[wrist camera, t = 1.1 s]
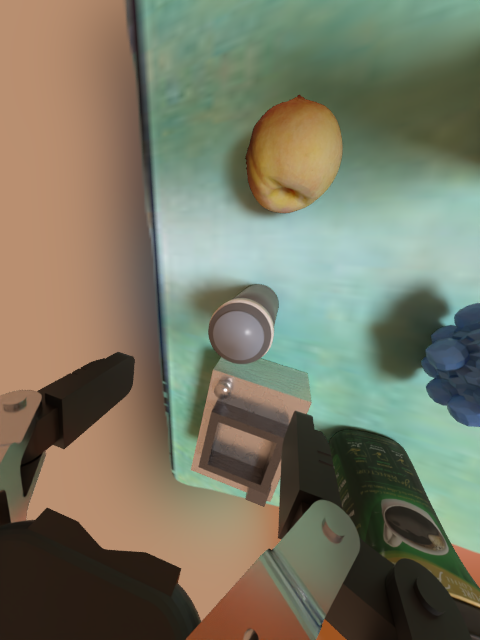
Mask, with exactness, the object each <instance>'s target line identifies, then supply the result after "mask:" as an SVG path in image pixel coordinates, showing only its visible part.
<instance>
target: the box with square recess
mask: <svg viewBox="0 0 480 640" xmlns="http://www.w3.org/2000/svg"><path fill="white" fill-rule="evenodd" d="M311 403H312V402H311V394H310V386H309V379H308V373H305V372H302V371H299V370H296V369H293V368H289V367H286V366H283V365H280V364H277V363H274V362H271V361H267V360H264V359H261V358H260V359H258V360H257V361H255V362H252V363H248V364H236V363H232V362H229V361H227V360H225V359H224V358H222V357H221V358H220V360H219V361H218V363H217V364H216V366H215V367H214V369H213V372H212V377H211V381H210V386H209V390H208V395H207V399H206V404H205V408H204V413H203V418H202V422H201V427H200V431H199V436H198V440H197V445H196V449H195V454H194V458H193V463H192V467H191V470H193V471H195V472H198V473H200V474H202V475H205V476H207V477H210V478H212V479H215V480H217V481H220V482H222V483H225V484H227V485H230V486H232V487H235V488H237V489H240V490H242V491H245V492H247V493H246V500H248V501H251V502H253V503H256V504H258V505H261V506H263V507H264V506H265V503H266V501H269V502H270V501H271V499H272V496H273V494H274V491H275V489H276V487H277V484H278V482H279V479H280V477H281V456H282V445H283V441H284V437H285V434H286V431H287V429H288V426H289V423H290V421H291V418H292V415H293V413H294V411H298V412H301V413H305V414H307V412H308V410H309V407H310V405H311Z"/></svg>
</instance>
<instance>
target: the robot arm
mask: <svg viewBox="0 0 480 640" xmlns="http://www.w3.org/2000/svg"><path fill="white" fill-rule="evenodd" d="M134 363H135V359H134V358H133V357H132V356H129V355H126V354H123V353H120V352H117V353H115V354H113V355H111V356H109V357H107V358H106V359H105V358H103V359H100V360H96V361H93V362H91V363H89V364H87V365H85V366H83V367H81V369H77V370H75V371H74V372H72V374H71V373H70V374H68V375H66V376H65V377H63V378H61V379H59V380H57V381H55V382H53V383H51V384H50V385H48V386H46V387H44V388H42V389H40V390H38V391H33V390H19V391H13V392H9V393H6V394H4V395H1V396H0V640H316V638H317V636H318V634H319V632H320V630H321V627H322V623H323V620H324V619H326V620H327V621H328V622H329V623H330V624H331V625H332V626H333V627H334V628H335V629H336V630H337V631H338V632H339V633H340V634H341V635H342V636H344V637H345V638H346V639H347V640H472V638H471V636H470V634H469V631H468V629H467V627H466V624H465V622H464V620H463V618H462V615H461V613H460V611H459V609H458V607H457V605H456V603H455V602H454V600H453V598H452V597H451V595H450V594H449V592H448V591H447V590H446V588H445V587H444V586H443V584H442V583H441V582H440V581H439V580H438V579H437V578H436V577H435V576H434V575H433V574H432V573H431V572H430V571H429V570H428V569H426V568H425V567H424V566H422V565H421V564H419V563H418V562H416V561H414V560H411V559H407V558H403V559H400V560H398V561H397V562H396V564H395V565H394V564H393V563H392V562H390V561H389V560H388V559H386V558H385V557H384V556H382V555H381V554H380V553H378V552H377V551H375V550H374V549H373V548H371V547H370V546H369V545H368V544H366V543H365V542H364V541H363V540H362V539H361V538H360V537H359V535H358V532H357V529H356V527H355V525H354V524H353V522H352V520H351V519H350V517H349V516H348V515H347V514H346V513H345V512H344V511H343V508H342V503H341V498H340V493H339V489H338V484H337V479H336V474H335V469H334V467H333V460H332V457H331V450H330V446H329V443H328V441H327V439H326V438H325V436H324V434H323V433H322V432H320V431H317V430H314V424H313V417H312V416H311V415H308V414H305V413H301V412H298V411H294V413H293V415H292V418H291V421H290V423H289V426H288V429H287V431H286V434H285V437H284V441H283V445H282V456H281V481H280V506H279V531H278V538H279V539H282V540H281V541H280V542H279V543H278V544H277V546H276V547H275V548H274V549H272V550H271V549H268V550H266V551H265V552H264V553H263V554H262V555H261V556H260V557H259V558H258V559H257V560H256V562H255V563H254V564H253V565H252V566H251V567H250V568H249V569H248V571H247V572H246V573H245V574H244V575H243V576H242V577H241V578H240V579H239V581H238V582H237V583H236V584H235V585H234V586H233V587H232V588H231V589H230V590H229V592H228V593H227V594H226V595H225V596H224V597H223V598H222V599H221V600H220V602H219V603H218V604H217V605H216V606H215V607H214V608H213V609H212V610H211V612H210V613H209V614H208V615H207V616H206V617H205V618H204V619H203V620H202V622H201V620H200V617H199V615H198V612H197V610H196V608H195V606H194V604H193V602H192V600H191V599H190V598H189V596H188V595H187V593H186V592H185V591H184V590H183V588H182V587H181V586H180V585H179V584H178V580H179V575H180V571H181V568H179V567H177V566H175V565H172V564H170V563H168V562H166V561H163V560H161V559H159V558H157V557H155V556H152V555H150V554H148V553H144V552H131V551H116V550H106V549H103V548H101V547H100V546H99V545H98V544H97V542H96V541H95V540H94V539H93V538H92V537H91V536H90V535H89V534H88V532H86V530H85V529H84V528H83V527H82V526H81V525H80V524H79V522H77V521H75V520H73V519H71V518H69V517H66V516H64V515H62V514H60V513H58V512H56V511H53V510H51V509H49V508H46V509H45V510H44V511H43V512H42V513H41V515H40V516H39V517H38V518H37V519H36V520H28V521H26V518H27V510H28V506H29V503H30V500H31V497H32V494H33V491H34V488H35V485H36V482H37V480H38V477H39V474H40V471H41V468H42V465H43V462H44V459H45V456H46V450H47V449H48V448H49V447H50V446H52V445H55V446H58V447H60V448H62V449H65V448H66V447H67V446H69V445H70V444H71V443H72V442H73V441H74V440H75V439H77V438H78V437H79V436H80V435H81V434H82V433H84V432H85V431H86V430H87V429H88V428H89V427H91V426H92V425H93V424H94V423H95V422H96V421H98V420H99V419H100V418H101V417H102V416H103V415H104V414H106V413H107V412H108V411H109V410H110V409H111V408H113V407H114V406H115V405H116V404H117V403H118V402H120V400H122V399H123V398H124V397H125V396H126V395H127V394H128V393H129V392H130V390H131V388H132V385H133V375H134Z"/></svg>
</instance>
